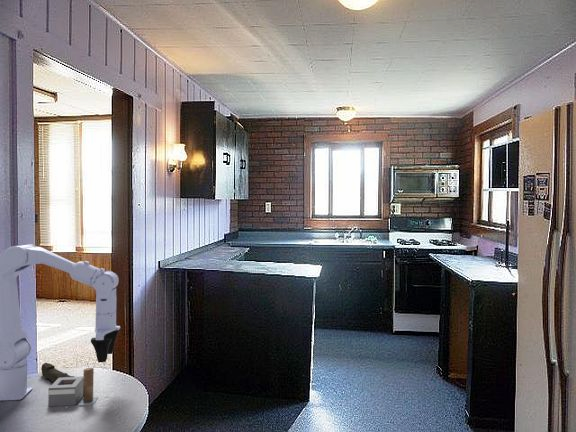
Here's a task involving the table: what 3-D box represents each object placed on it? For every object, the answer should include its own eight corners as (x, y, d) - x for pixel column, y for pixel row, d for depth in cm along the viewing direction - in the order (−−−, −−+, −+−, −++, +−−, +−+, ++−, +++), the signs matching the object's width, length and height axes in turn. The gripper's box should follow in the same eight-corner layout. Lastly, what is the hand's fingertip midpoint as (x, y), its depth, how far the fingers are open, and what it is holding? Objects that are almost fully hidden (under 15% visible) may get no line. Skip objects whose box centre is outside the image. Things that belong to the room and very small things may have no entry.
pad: (77, 406, 122) (77, 405, 122) (83, 398, 127) (83, 397, 127) (92, 405, 123) (92, 404, 123) (97, 398, 128) (97, 397, 128)
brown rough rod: (77, 388, 135) (77, 373, 135) (64, 392, 132) (64, 376, 132) (51, 373, 148) (51, 359, 148) (38, 376, 144) (38, 362, 144)
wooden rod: (81, 403, 123) (82, 371, 123) (84, 399, 126) (85, 367, 126) (91, 402, 124) (92, 370, 124) (94, 398, 126) (94, 367, 126)
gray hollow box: (48, 406, 122) (48, 388, 122) (58, 394, 130) (58, 377, 130) (74, 405, 123) (75, 387, 123) (83, 393, 131) (84, 376, 131)
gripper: (114, 317, 125) (113, 365, 125) (125, 307, 140) (124, 349, 140) (88, 318, 124) (87, 366, 124) (101, 307, 138) (101, 350, 138)
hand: (105, 357), depth 132 cm, fingers open, 7 cm apart
